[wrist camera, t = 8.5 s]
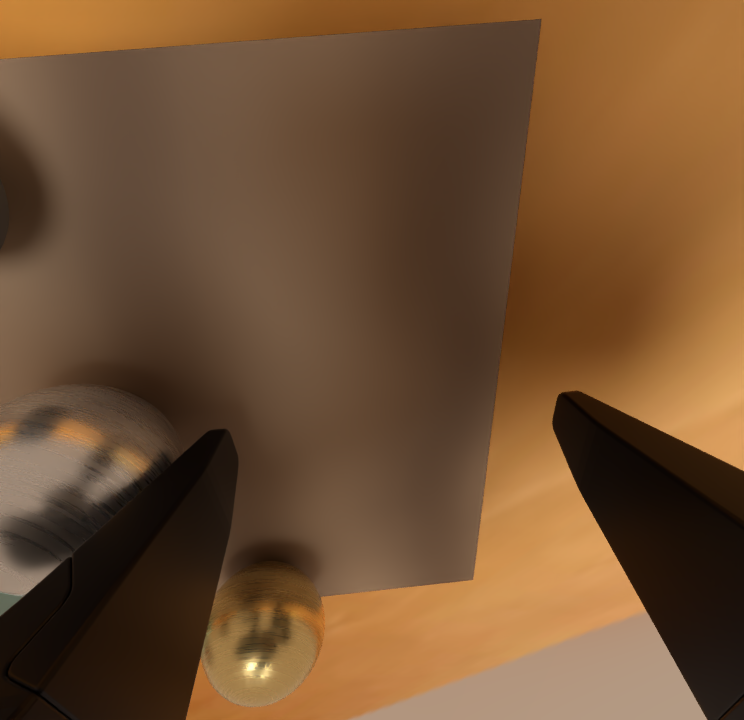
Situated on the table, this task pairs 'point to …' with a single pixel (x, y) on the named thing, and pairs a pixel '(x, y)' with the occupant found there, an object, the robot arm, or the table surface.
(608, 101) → the table surface
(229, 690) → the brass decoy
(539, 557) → the table surface
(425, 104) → the board
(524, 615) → the table surface
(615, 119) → the table surface
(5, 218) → the matte grey ball
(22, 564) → the steel ball
